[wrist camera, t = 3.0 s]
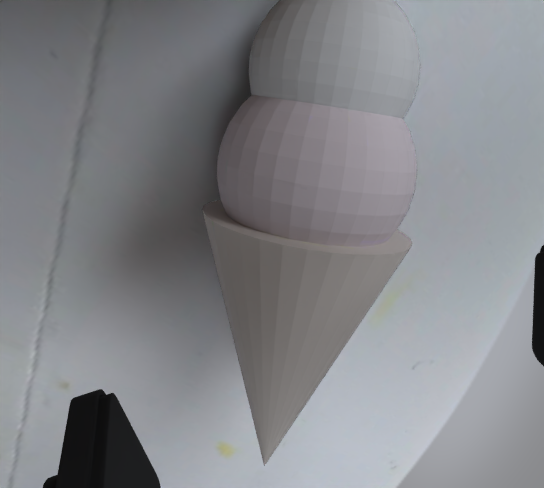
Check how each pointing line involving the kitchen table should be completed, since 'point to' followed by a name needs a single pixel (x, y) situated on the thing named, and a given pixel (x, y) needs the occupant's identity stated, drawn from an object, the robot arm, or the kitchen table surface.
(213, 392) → the kitchen table surface
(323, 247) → the ice cream cone
